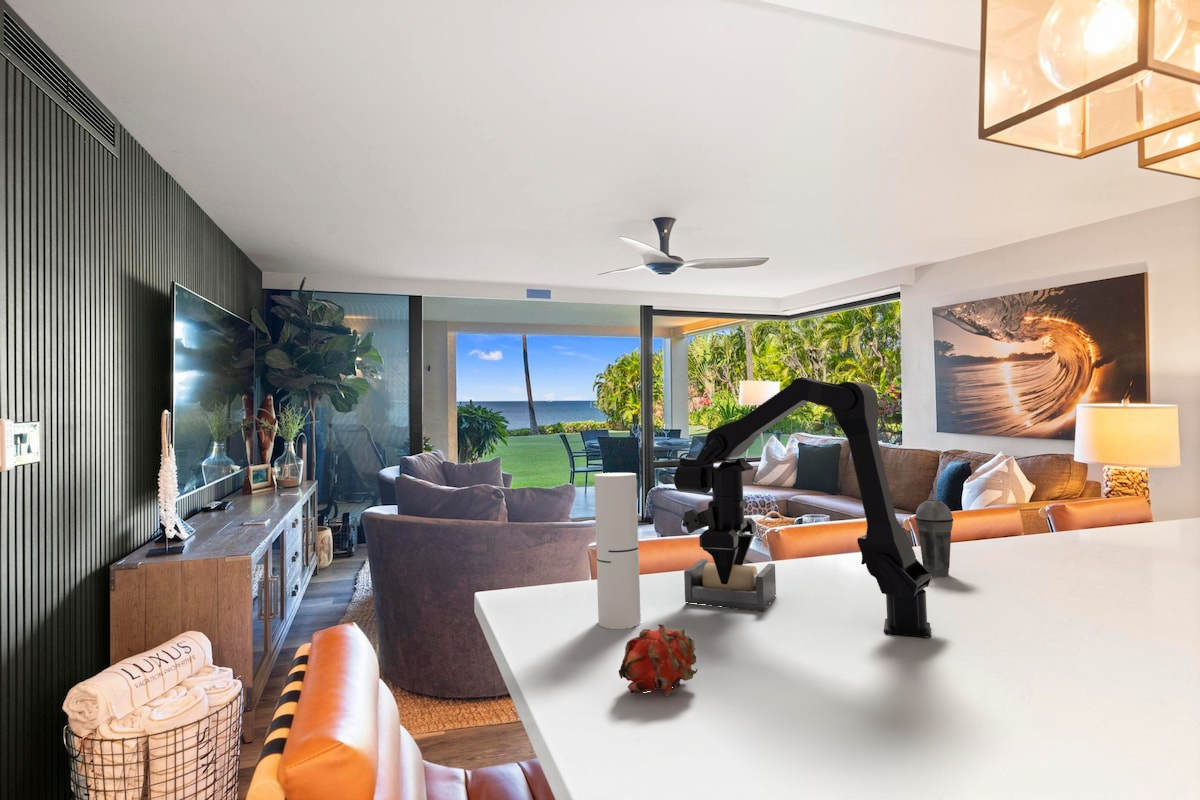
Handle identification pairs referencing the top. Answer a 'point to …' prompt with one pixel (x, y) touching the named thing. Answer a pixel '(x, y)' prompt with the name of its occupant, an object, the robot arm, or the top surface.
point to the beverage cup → (935, 535)
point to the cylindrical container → (617, 550)
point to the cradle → (730, 590)
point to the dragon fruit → (658, 660)
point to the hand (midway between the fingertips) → (730, 578)
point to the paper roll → (731, 577)
